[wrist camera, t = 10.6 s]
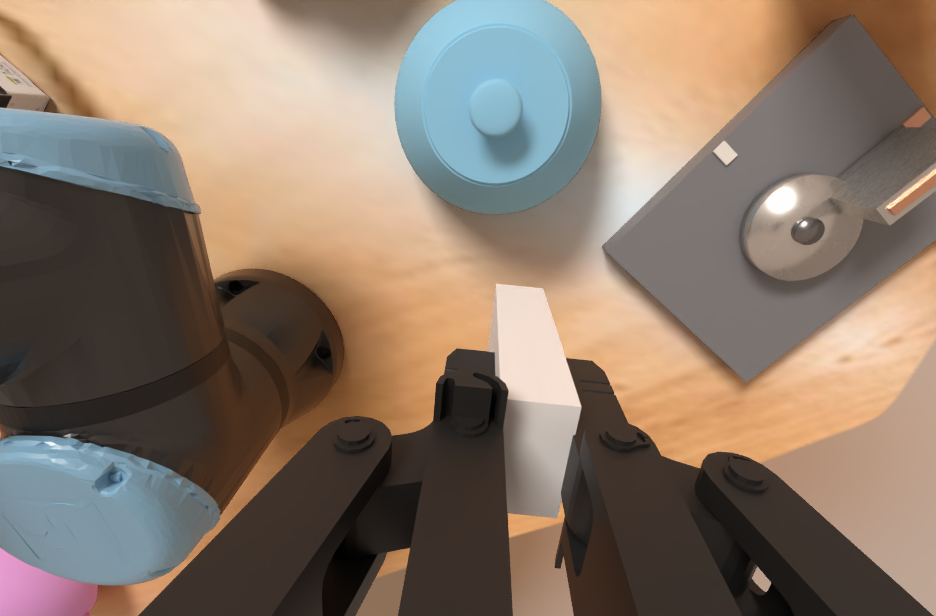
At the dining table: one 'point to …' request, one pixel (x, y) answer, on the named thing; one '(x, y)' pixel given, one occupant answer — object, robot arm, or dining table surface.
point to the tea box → (19, 90)
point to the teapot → (41, 591)
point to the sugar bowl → (497, 103)
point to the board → (749, 172)
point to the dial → (837, 206)
